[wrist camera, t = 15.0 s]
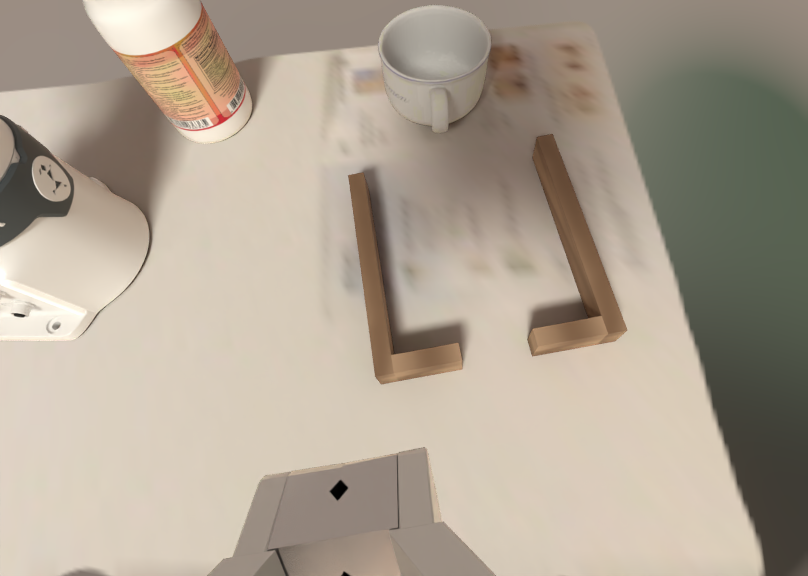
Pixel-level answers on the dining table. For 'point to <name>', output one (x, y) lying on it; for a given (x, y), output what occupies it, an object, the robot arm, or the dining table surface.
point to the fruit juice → (177, 63)
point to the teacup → (434, 63)
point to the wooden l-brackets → (543, 340)
